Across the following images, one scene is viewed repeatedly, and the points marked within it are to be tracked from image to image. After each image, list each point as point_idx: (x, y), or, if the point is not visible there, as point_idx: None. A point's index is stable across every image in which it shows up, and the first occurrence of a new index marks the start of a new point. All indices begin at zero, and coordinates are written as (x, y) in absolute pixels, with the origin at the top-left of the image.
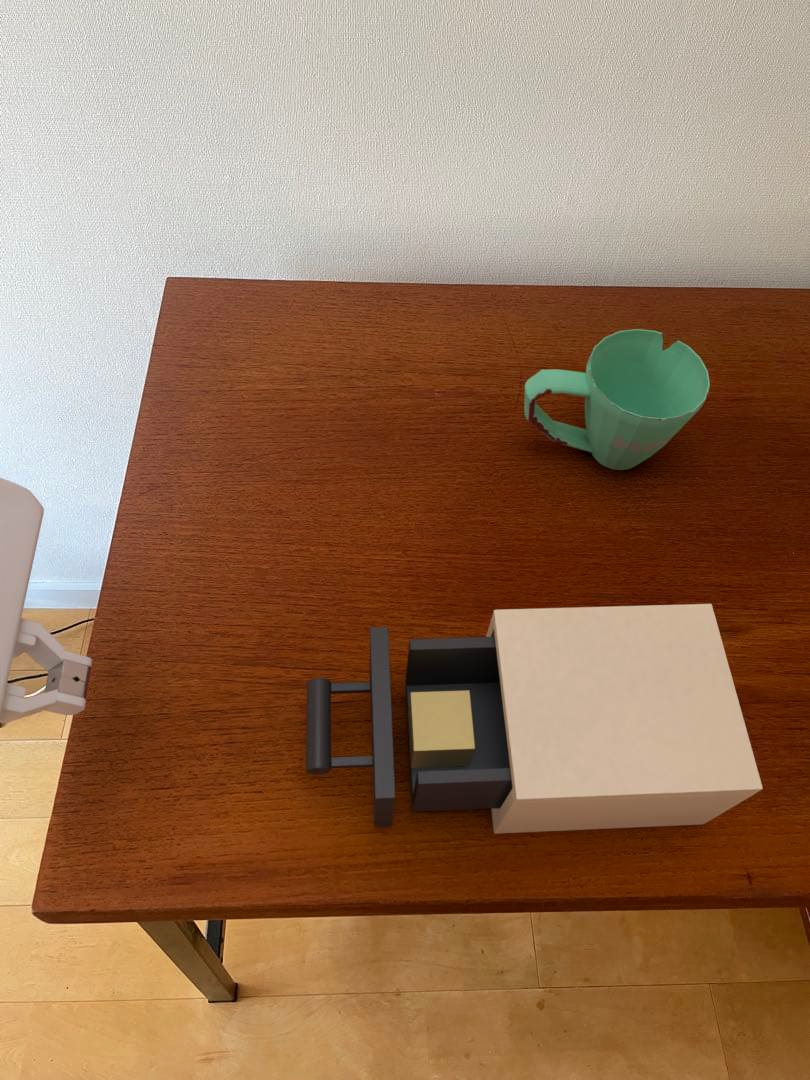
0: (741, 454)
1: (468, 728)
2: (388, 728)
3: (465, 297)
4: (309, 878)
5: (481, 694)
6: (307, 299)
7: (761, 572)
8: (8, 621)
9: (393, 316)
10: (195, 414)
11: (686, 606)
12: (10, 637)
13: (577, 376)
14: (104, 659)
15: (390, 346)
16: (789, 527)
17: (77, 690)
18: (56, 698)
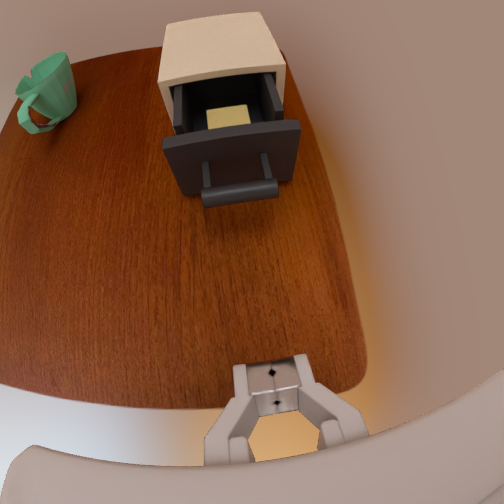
0: (84, 72)
1: (233, 107)
2: (247, 125)
3: None
4: (327, 219)
5: (200, 128)
6: None
7: (140, 56)
8: (225, 483)
9: None
10: (10, 354)
11: (167, 28)
12: (255, 471)
13: (27, 98)
14: (186, 402)
15: None
16: (122, 54)
17: (287, 366)
18: (313, 383)
